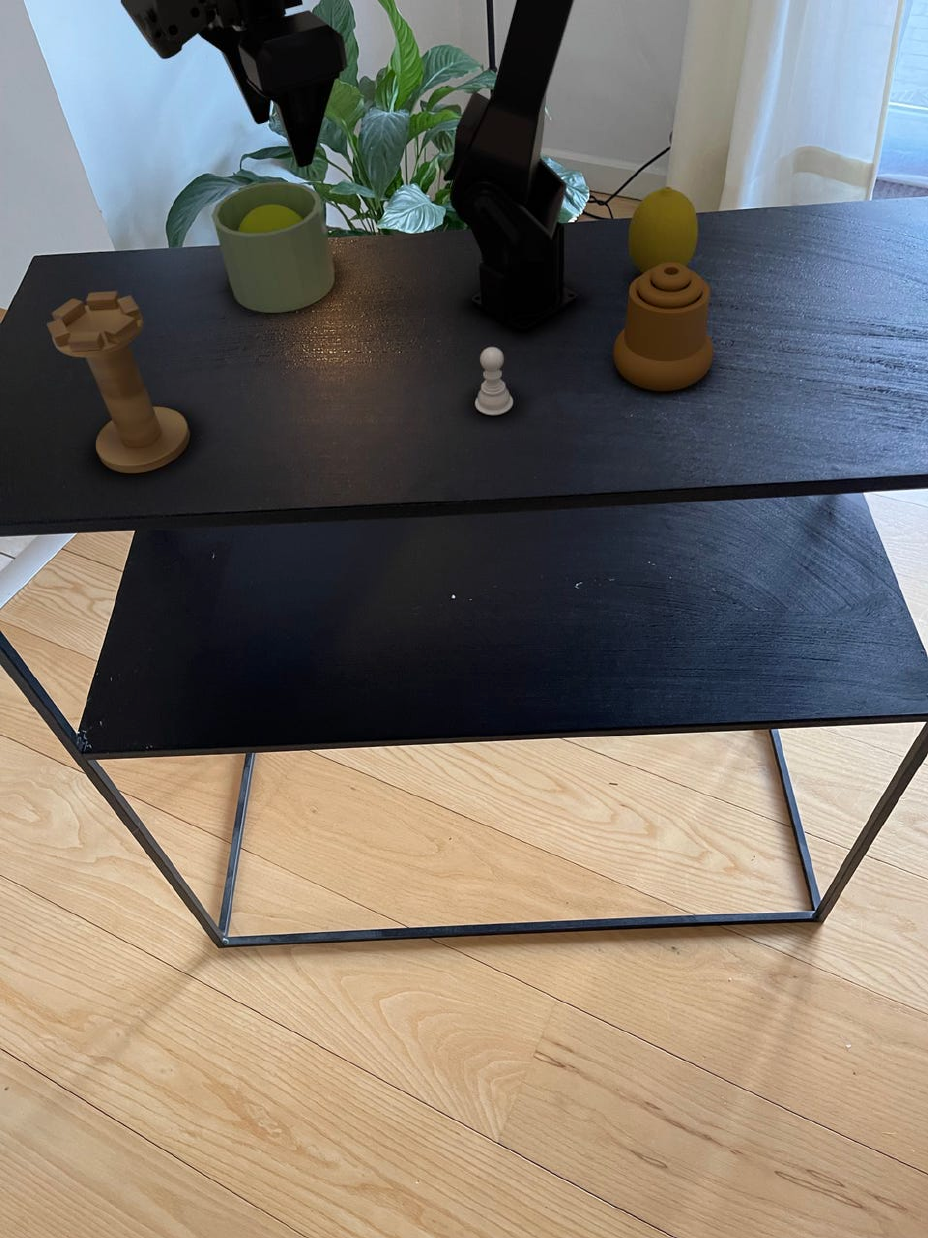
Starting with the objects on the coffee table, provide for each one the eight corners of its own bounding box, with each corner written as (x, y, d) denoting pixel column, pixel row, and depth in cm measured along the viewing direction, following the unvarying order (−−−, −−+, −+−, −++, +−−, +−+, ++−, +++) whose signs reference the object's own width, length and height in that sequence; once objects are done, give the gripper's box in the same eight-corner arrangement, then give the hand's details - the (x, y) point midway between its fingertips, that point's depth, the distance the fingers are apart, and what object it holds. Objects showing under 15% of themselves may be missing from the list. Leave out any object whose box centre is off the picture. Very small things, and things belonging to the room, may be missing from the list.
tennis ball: (279, 252, 89) (219, 220, 84) (324, 211, 85) (263, 174, 80) (285, 310, 86) (223, 279, 82) (331, 269, 83) (269, 235, 78)
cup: (244, 258, 89) (224, 183, 84) (340, 255, 89) (327, 179, 83) (223, 314, 84) (201, 237, 78) (327, 311, 83) (311, 233, 78)
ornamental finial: (594, 376, 75) (642, 327, 78) (682, 408, 72) (728, 355, 75) (598, 282, 69) (650, 233, 72) (695, 311, 65) (744, 259, 69)
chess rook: (111, 416, 76) (56, 290, 67) (197, 412, 75) (153, 284, 67) (89, 475, 71) (28, 348, 63) (180, 471, 71) (131, 342, 63)
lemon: (690, 300, 80) (701, 206, 74) (622, 296, 81) (628, 203, 75) (694, 264, 84) (705, 171, 78) (628, 261, 85) (634, 169, 79)
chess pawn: (512, 392, 74) (510, 335, 70) (513, 415, 72) (511, 358, 69) (475, 393, 74) (471, 337, 70) (475, 417, 73) (471, 360, 69)
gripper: (75, -104, 67) (149, 129, 79) (149, -35, 56) (223, 224, 68) (228, -138, 70) (277, 92, 82) (328, -79, 59) (368, 177, 71)
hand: (282, 143), depth 75 cm, fingers open, 9 cm apart
